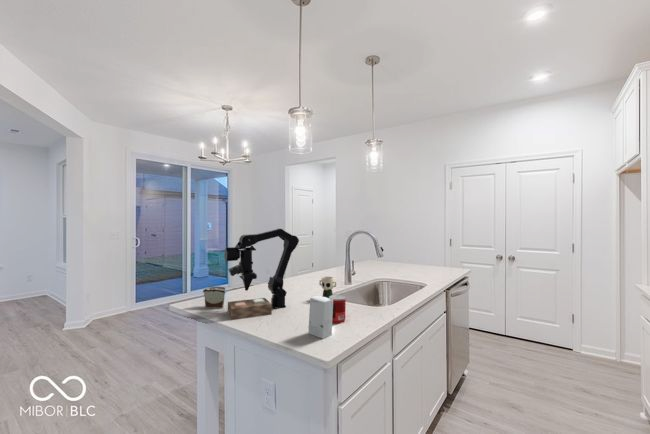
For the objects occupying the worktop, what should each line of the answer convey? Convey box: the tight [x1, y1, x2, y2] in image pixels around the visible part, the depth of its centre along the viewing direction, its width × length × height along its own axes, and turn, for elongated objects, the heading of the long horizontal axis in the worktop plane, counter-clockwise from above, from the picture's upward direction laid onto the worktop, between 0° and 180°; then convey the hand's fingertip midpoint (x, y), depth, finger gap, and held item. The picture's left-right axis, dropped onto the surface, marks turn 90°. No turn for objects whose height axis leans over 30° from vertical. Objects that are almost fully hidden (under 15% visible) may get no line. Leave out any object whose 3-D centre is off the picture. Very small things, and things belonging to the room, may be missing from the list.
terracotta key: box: [234, 302, 246, 306], centre depth 147 cm, size 5×5×4 cm
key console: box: [227, 297, 273, 320], centre depth 149 cm, size 19×13×5 cm
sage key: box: [252, 298, 265, 304], centre depth 151 cm, size 5×5×4 cm
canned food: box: [329, 294, 347, 324], centre depth 138 cm, size 8×8×11 cm
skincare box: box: [308, 295, 333, 340], centre depth 122 cm, size 8×6×15 cm
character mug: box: [318, 276, 337, 298], centre depth 174 cm, size 11×7×13 cm, turn 64°
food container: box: [202, 286, 227, 309], centre depth 160 cm, size 12×6×10 cm, turn 84°
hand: (246, 290), depth 151 cm, fingers closed
